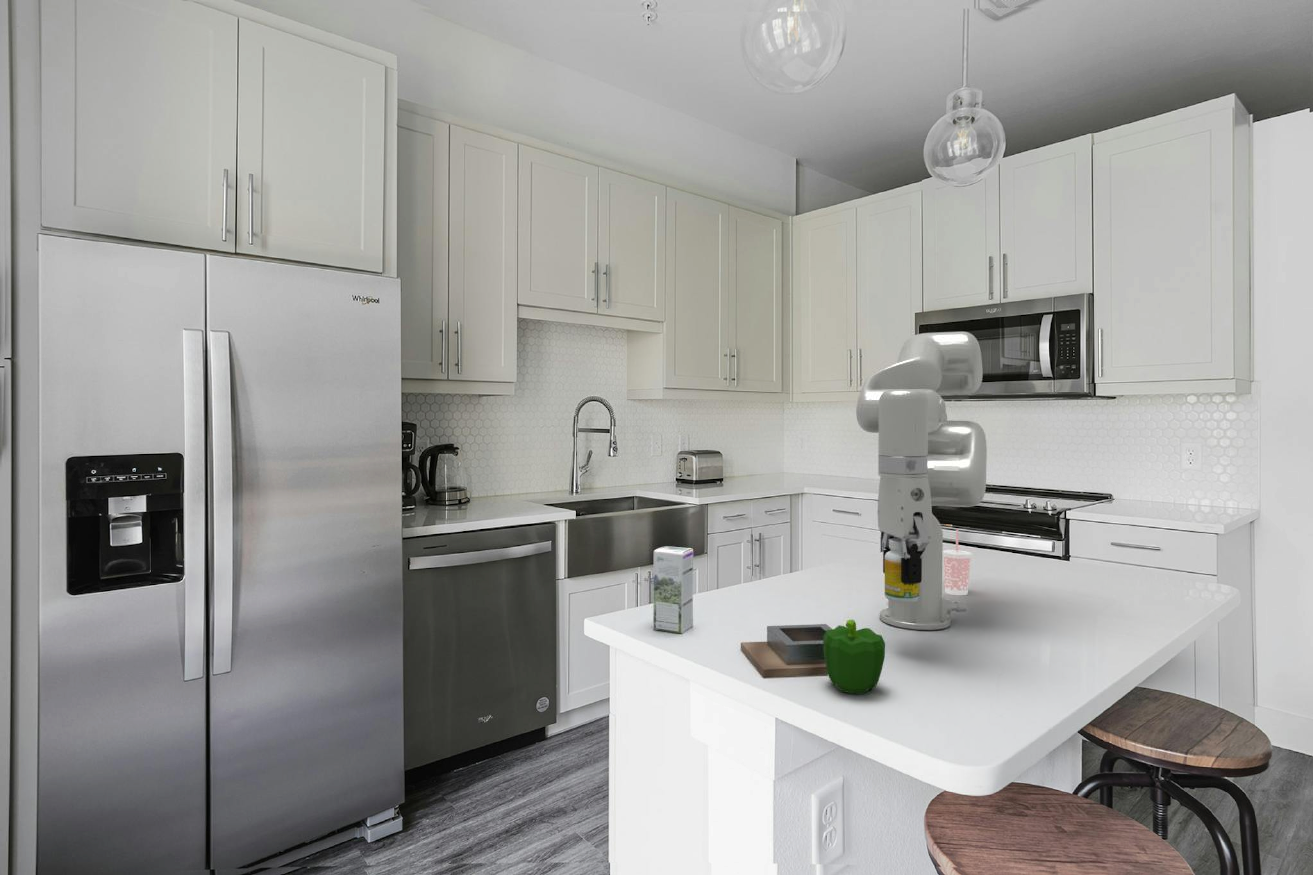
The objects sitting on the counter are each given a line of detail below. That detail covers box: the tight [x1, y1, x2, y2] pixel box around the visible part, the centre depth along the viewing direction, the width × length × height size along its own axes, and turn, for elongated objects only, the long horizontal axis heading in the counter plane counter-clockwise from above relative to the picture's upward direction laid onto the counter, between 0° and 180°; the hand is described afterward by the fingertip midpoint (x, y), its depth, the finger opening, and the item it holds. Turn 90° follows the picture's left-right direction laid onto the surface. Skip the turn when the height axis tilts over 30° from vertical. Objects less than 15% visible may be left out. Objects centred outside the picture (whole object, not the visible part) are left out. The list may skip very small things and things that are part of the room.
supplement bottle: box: [884, 538, 919, 602], centre depth 115 cm, size 5×5×10 cm
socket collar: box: [766, 623, 834, 665], centre depth 112 cm, size 10×10×3 cm
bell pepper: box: [823, 619, 886, 695], centre depth 100 cm, size 8×8×10 cm
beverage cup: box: [943, 529, 973, 596], centre depth 158 cm, size 6×6×14 cm
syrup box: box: [652, 545, 694, 634], centre depth 129 cm, size 6×6×14 cm
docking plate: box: [740, 640, 828, 679], centre depth 112 cm, size 18×13×1 cm
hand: (901, 576), depth 115 cm, fingers closed on supplement bottle, 5 cm apart
